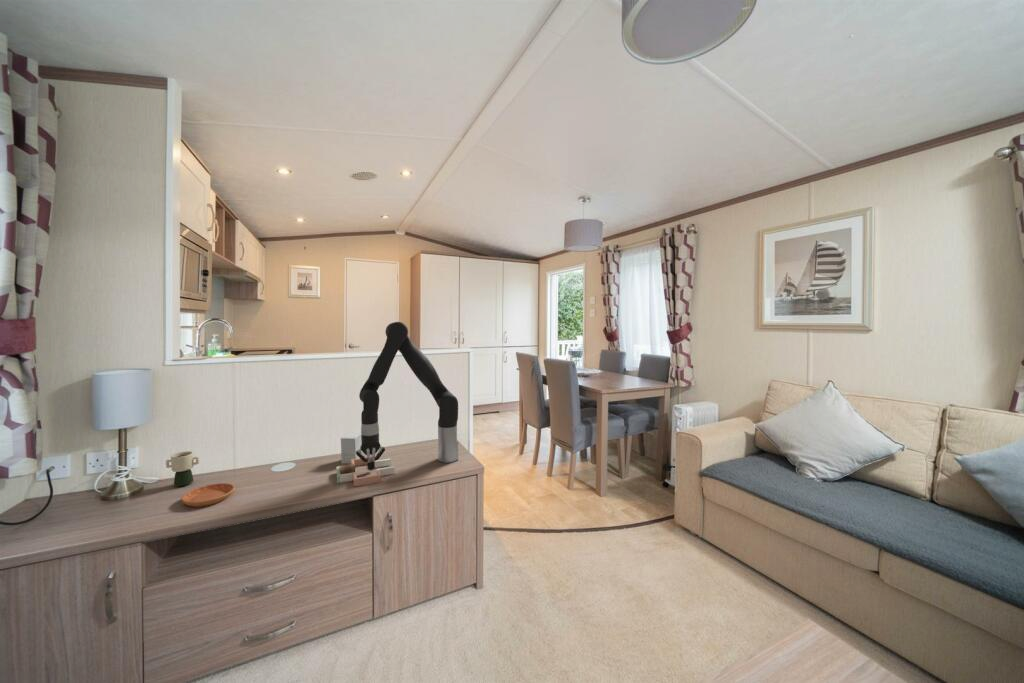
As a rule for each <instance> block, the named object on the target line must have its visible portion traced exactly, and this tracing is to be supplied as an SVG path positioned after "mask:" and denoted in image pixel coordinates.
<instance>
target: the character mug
mask: <svg viewBox="0 0 1024 683" xmlns="http://www.w3.org/2000/svg"><path fill="white" fill-rule="evenodd" d="M198 464H200V457H199V456H194V451H189V450H188V451H187V450H186V451H181V452H177V453H173V454H171V456H170V459H166V460H165V468H168V469H169V468H171V471H172V472H174V480H173V486H174V487H184V486H186V485H189V484H192V482H194V475H193V472H192V469H193V467H194V465H198Z"/></svg>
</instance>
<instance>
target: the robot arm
mask: <svg viewBox="0 0 1024 683" xmlns="http://www.w3.org/2000/svg"><path fill="white" fill-rule="evenodd" d="M385 328H386V329H385V335H386V336H385V337H386V340H385V343H384V345H383V348H382V350H381V351H380V352H381V353H380V354H379V355H378V357H377V359H376V361H375V362H374V364H373V366H372V368H371V371H370V374H369V376H368V377H367V380H365V383H364V384H363V386H362V388H361V389H360V391H359V399H360V401H361V402H362V404H363V407H362V411H361V419H360V420H361V421H360V422H361V426H360V434H361V443H362V444H361V447H360V449H359V450H358V451H356V455H357V456H358V457H359V458H360V459H361V460H362V461H364V462H367V463H368V464H367V469H368V470H369V471H373V470H374V469H376V468H375V463H374V462H375V461H376V460H380V458H381V456H382V455H383V454H384V452H385V451H386V448H385V447H384V446H382V445H381V443H380V426H379V413H378V412H379V408H380V395H379V393H378V390H379V388H380V386H382V385H383V384H384V383H385V380H386V378H387V376H388V374H389V371H390V369H391V367H392V364H393V361H395V360H394V359H395V357H396V355H397V353H398V352H399V353H400V354H401V355H402V357H403V358H404V360H405V362H406V363H407V365H408V367H409V368H410V370H411V371H412V373H413V374H414V376H415V377H416V378H417V379H418V381H419V382H420V383H421V384H422V385H423V386H424V387H425V388H426V389H427V390H428V391H429V393H430V394H431V396H432V397H433V399H434V402H435V403H436V405H437V406H438V410H439V412H438V416H439V417H438V420H437V449H438V450H437V461H438V462H440V463H447V464H448V463H453V462H456V461H458V460H459V440H458V420H459V401H458V400H459V399H457V397H456V396H455V395H454V394H453V393H452V392H450V391H449V389H448V388H447V387H446V386H445V385H444V383H443V382H442V380H441V378H440V377H439V374H438V373H437V370H436V368H435V367H434V365H433V364H432V362H431V361H430V360H429V358H428V357H427V356H426V355H425V354H424V353H423V352H422V351H421V350H420V349H419V348H418V347H417V346H416V345H415V344H414V342H413V341H412V340H411V338H410V337H409V328H408V326H407V325H406V324H405V323H403V322H401V321H395V322H391V323H389V324H388V325H387V326H386V327H385ZM361 451H362V452H361ZM377 452H378V453H377ZM364 455H366V456H364ZM375 456H376V457H375ZM365 457H367V458H365ZM370 457H371V460H370Z"/></svg>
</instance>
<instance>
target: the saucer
mask: <svg viewBox="0 0 1024 683" xmlns="http://www.w3.org/2000/svg"><path fill="white" fill-rule="evenodd" d="M234 491H235V485H234V484H232V483H228V482H227V483H221V482H220V483H213V484H206V485H203V486H199V487H196V488H194V489H191V490H189V491H187V492H186V493H185V494H183V495H182V497H181V502H182V503H183V504H184V505H186V506H189V507H192V508H199V507H200V508H201V507H202V508H203V507H207V506H211V505H215V504H218V503H220V502H222V501H224V500H227V498H229V497H230V496H231V495H232V494H233V493H234Z"/></svg>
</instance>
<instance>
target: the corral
mask: <svg viewBox="0 0 1024 683" xmlns="http://www.w3.org/2000/svg"><path fill="white" fill-rule="evenodd" d="M364 457H365V458H367V456H364ZM375 457H376V455H375ZM370 460H371V456H370ZM374 463H375V468H374V469H376V474H373V475H365V476H361V477H357V476H358V475H357V472H356V471H355V472H354V473H347V474H341V475H340V465H339V466H336V484H340V483H347V482H352V481H353V486H354V487H358V486H359V487H360V486H366V485H371V484H376V483H381V482H383V481H382V477H383V476H388V475H395V466H394V465H393V466H392V458H385V459H378V460H376V461H375V462H374ZM351 464H355V467H356V466H363V465H368V463H367V462H364V461H362V460H361V459H360V458H357V459H351Z"/></svg>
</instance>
